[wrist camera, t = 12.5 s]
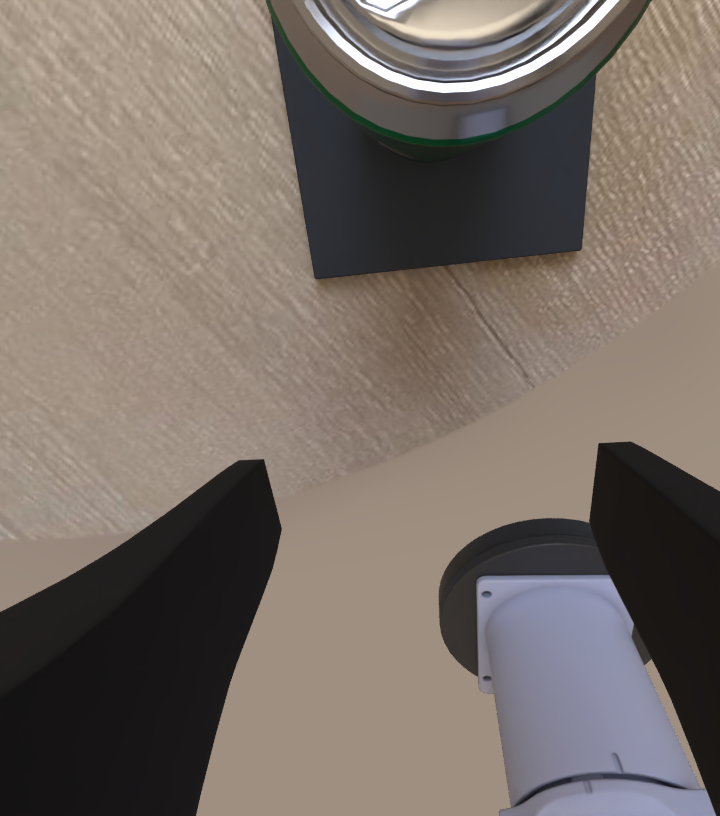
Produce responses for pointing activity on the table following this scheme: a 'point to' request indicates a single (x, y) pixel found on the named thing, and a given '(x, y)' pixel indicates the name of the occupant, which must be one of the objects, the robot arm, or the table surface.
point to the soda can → (451, 63)
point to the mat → (434, 188)
